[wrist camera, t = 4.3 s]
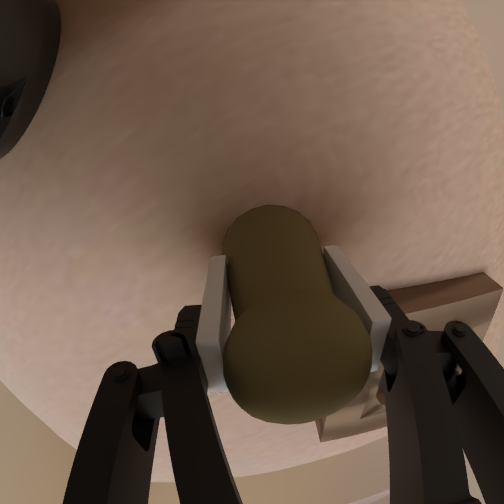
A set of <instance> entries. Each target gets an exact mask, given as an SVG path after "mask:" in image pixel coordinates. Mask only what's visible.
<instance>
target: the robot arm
mask: <svg viewBox="0 0 504 504" xmlns="http://www.w3.org/2000/svg"><path fill="white" fill-rule="evenodd" d="M60 32H61V20H60V13H59V8H58V5H57V3H56V1H55V0H0V159H1V158H2V157H4V156H5V155H6V154H7V153H8V152H9V151H10V150H11V149H12V148H13V147H14V146H15V145H16V143H17V142H18V141H19V140H20V138H21V137H22V135H23V134H24V132H25V131H26V129H27V128H28V126H29V124H30V123H31V121H32V119H33V117H34V116H35V114H36V112H37V110H38V107H39V105H40V103H41V101H42V99H43V96H44V94H45V91H46V89H47V86H48V84H49V81H50V78H51V75H52V72H53V68H54V65H55V61H56V57H57V53H58V48H59V41H60ZM324 260H325V263H326V266H327V270H328V273H329V276H330V280H331V283H332V287H333V290H334V294H335V296H336V297H337V298H338V299H340V300H341V301H342V302H343V303H345V304H346V305H347V306H348V307H350V308H351V309H352V310H353V311H355V312H356V313H357V314H358V316H359V317H360V319H361V321H362V322H363V324H364V326H365V328H366V330H367V332H368V334H369V336H370V339H371V344H372V350H373V352H372V367H371V371H370V372H374V371H377V370H378V367H379V364H380V361H381V363H382V365H383V367H384V370H383V373H382V376H381V379H380V382H379V384H378V389H380V388H381V386H382V383H383V389H384V398H385V407H386V417H387V428H388V442H389V459H390V460H389V461H390V504H481V502H480V501H479V499H476V498H474V497H472V496H471V495H470V493H469V488H468V479H467V472H466V466H465V460H464V454H463V450H464V452H465V455H466V457H467V459H468V461H469V464H470V466H471V468H472V470H473V473H474V475H475V478H476V480H477V483H478V485H479V487H480V490H481V493H482V495H483V498H484V500H485V503H486V504H504V369H503V367H502V366H501V365H500V364H499V362H498V361H497V359H496V358H495V357H494V356H493V354H492V353H491V352H490V350H489V349H488V348H487V347H486V345H485V344H484V343H483V342H482V341H481V339H480V338H479V337H478V336H477V335H476V333H475V332H474V331H473V330H472V329H471V328H470V327H469V326H468V325H467V324H466V323H464V322H462V321H457V320H454V321H450V322H448V323H447V324H446V325H445V327H444V330H443V331H428V330H427V329H426V327H425V326H424V325H423V324H421V323H420V322H417V321H415V320H409V319H408V317H407V316H406V315H405V313H404V312H403V311H402V310H401V308H400V307H399V306H398V304H397V303H396V302H395V301H394V299H393V298H392V297H391V295H390V294H389V293H388V292H387V290H385V289H383V288H382V287H380V286H378V285H377V286H370V287H369V286H368V285H367V283H366V282H365V281H364V279H363V278H362V276H361V275H360V274H359V272H358V271H357V270H356V269H355V267H354V266H353V265H352V263H351V262H350V261H349V259H348V258H347V257H346V255H345V254H344V253H343V252H342V250H341V249H340V248H339V247H338V245H332V246H324ZM230 332H231V298H230V293H229V288H228V274H227V262H226V255H220V256H211V260H210V265H209V270H208V275H207V280H206V286H205V291H204V296H203V302H202V305H191V306H185V307H184V308H183V309H182V310H181V311H180V312H179V314H178V317H177V322H176V324H175V329H174V330H170V331H167V332H163V333H161V334H160V335H158V336H157V337H156V338H155V339H154V341H153V343H152V348H153V351H154V354H155V356H156V359H157V361H158V363H157V364H155V365H152V366H148V367H144V368H140V369H137V367H136V365H135V364H133V363H132V362H128V361H121V362H117V363H115V364H112V365H111V366H110V367H109V368H108V369H107V370H106V372H105V373H104V376H103V378H102V381H101V383H100V386H99V388H98V391H97V394H96V396H95V399H94V402H93V404H92V407H91V410H90V413H89V416H88V418H87V421H86V424H85V427H84V430H83V433H82V436H81V439H80V442H79V446H78V449H77V452H76V455H75V459H74V462H73V466H72V469H71V473H70V477H69V480H68V484H67V488H66V492H65V496H64V500H63V504H148V498H149V489H150V481H151V473H152V466H153V459H154V452H155V445H156V439H157V433H158V426H159V420H160V418H161V417H164V419H165V426H166V433H167V439H168V445H169V451H170V457H171V462H172V467H173V473H174V477H175V482H176V487H177V491H178V495H179V500H180V504H243V503H242V500H241V498H240V495H239V492H238V490H237V487H236V484H235V481H234V479H233V476H232V473H231V470H230V467H229V464H228V461H227V458H226V455H225V452H224V449H223V446H222V443H221V439H220V436H219V433H218V430H217V426H216V423H215V420H214V416H213V413H212V409H211V406H210V402H209V399H208V396H207V389H208V388H209V391H210V392H229V390H228V388H227V386H226V383H225V379H224V376H223V354H224V346H225V343H226V341H227V339H228V337H229V334H230ZM458 366H459V367H460V368H461V370H462V372H461V374H460V373H459V372H458V371H457V368H458ZM462 448H463V449H462Z"/></svg>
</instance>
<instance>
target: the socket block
mask: <svg viewBox="0 0 504 504" xmlns="http://www.w3.org/2000/svg"><path fill="white" fill-rule="evenodd" d="M502 291H503V288H502V287H501V286H500V285H499V284H498V283H496V282H495V281H494V280H493V279H492V278H490V277H489V276H488V275H487V274H485V273H479V274H475V275H470V276H466V277H461V278H456V279H451V280H446V281H441V282H436V283H431V284H425V285H420V286H414V287H408V288H402V289H396V290H390V291H387V292H388V293H389V294H390V295H391V297H392V298H393V299H394V301H395V302H396V303H397V304H398V306H399V307H400V308H401V310H402V311H403V312H404V313H405V315H406V316H407V317H408V319H409V320H415V321H417V322H420V323H421V324H423V325H424V326H425V327H426V329H427V330H428V331H443V330H444V327H445V325H446V324H447V323H448V322H450V321H454V320H457V321H462V322H464V323H466V324H467V325H468V326H469V327H470V328H471V329H472V330H473V331H474V332H475V333H476V335H477V336H478V337H479V338H480V339H481V341H483V339H484V337H485V334H486V332H487V330H488V327H489V325H490V323H491V320H492V318H493V315H494V313H495V310H496V308H497V305H498V302H499V300H500V297H501V294H502ZM383 370H384V367H383V365H382V363H381V361H380V364H379V367H378V370H377V371H374V372H370V375H369V378H368V380H367V382H366V384H365V386H364V388H363V390H362V391H361V392H360V393H359V394H358V395H357V396H356V397H355V398H354V399H353V400H352V401H351V402H350V403H349V404H347V405H346V406H344V407H343V408H341V409H340V410H338V411H337V412H335V413H333V414H331V415H329V416H326V417H324V418H322V419H319V420H315V421H316V426H317V430H318V434H319V439H320V442H325V441H330V440H335V439H340V438H344V437H349V436H353V435H357V434H361V433H365V432H369V431H372V430H376V429H379V428H383V427H386V426H387V417H386V407H385V398H384V389H383V384H382V386H381V388H380V389H378V384H379V382H380V379H381V376H382V373H383ZM457 371H458V372H459V373H460V374H461V372H462V370H461V368H460V367H459V366H458V368H457Z"/></svg>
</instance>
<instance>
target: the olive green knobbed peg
mask: <svg viewBox="0 0 504 504" xmlns="http://www.w3.org/2000/svg"><path fill="white" fill-rule="evenodd" d="M223 255H226V262H227V274H228V288H229V293H230V298H231V302H232V307H233V312H234V317H235V324H234V326H233V328H232V330H231V332H230V334H229V337H228V339H227V341H226V343H225V346H224V354H223V376H224V379H225V383H226V386H227V388H228V390H229V392H230V394H231V396H232V397H233V399H234V400H235V402H236V403H237V404H238V405H239V406H240V407H241V408H242V409H243V410H244V411H246V412H247V413H248V414H250V415H251V416H252V417H255V418H257V419H260V420H263V421H266V422H271V423H279V424H301V423H307V422H311V421H315V420H319V419H322V418H324V417H326V416H329V415H331V414H333V413H335V412H337V411H338V410H340V409H341V408H343V407H344V406H346V405H347V404H349V403H350V402H351V401H352V400H353V399H354V398H355V397H356V396H357V395H358V394H359V393H360V392H361V391H362V390H363V388H364V386H365V384H366V382H367V380H368V378H369V375H370V371H371V367H372V352H373V350H372V344H371V339H370V336H369V334H368V332H367V330H366V328H365V326H364V324H363V322H362V321H361V319H360V317H359V316H358V314H357V313H356V312H355V311H353V310H352V309H351V308H350V307H348V306H347V305H346V304H345V303H343V302H342V301H341V300H340V299H338V298H337V297H336V296H335V294H334V290H333V287H332V283H331V280H330V276H329V273H328V270H327V266H326V263H325V260H324V257H323V253H322V250H321V247H320V244H319V241H318V238H317V234H316V232H315V231H314V229H313V227H312V225H311V224H310V222H309V221H308V220H307V219H306V218H305V217H303V216H302V215H301V214H300V213H299V212H297V211H295V210H292V209H290V208H287V207H285V206H273V205H266V206H262V207H258V208H254V209H251V210H250V211H248V212H246V213H245V214H243V215H242V216H240V217H238V218H237V220H236V221H235V222H234V223H233V224H232V226H231V227H230V228H229V229H228V231H227V234H226V237H225V239H224V242H223Z"/></svg>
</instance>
